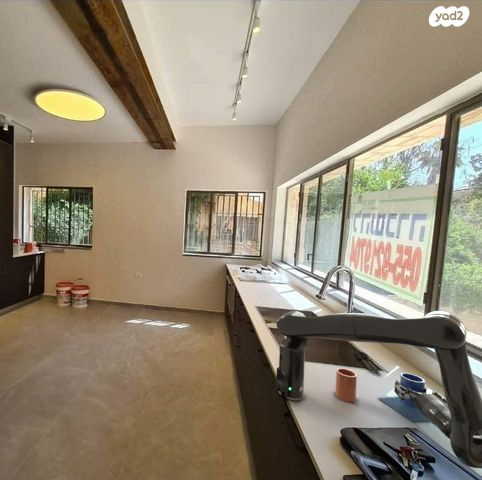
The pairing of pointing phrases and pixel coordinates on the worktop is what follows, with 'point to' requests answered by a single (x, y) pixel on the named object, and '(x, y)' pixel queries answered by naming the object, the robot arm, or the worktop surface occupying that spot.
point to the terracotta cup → (346, 385)
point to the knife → (359, 355)
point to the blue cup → (411, 386)
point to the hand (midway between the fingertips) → (408, 384)
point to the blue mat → (404, 409)
